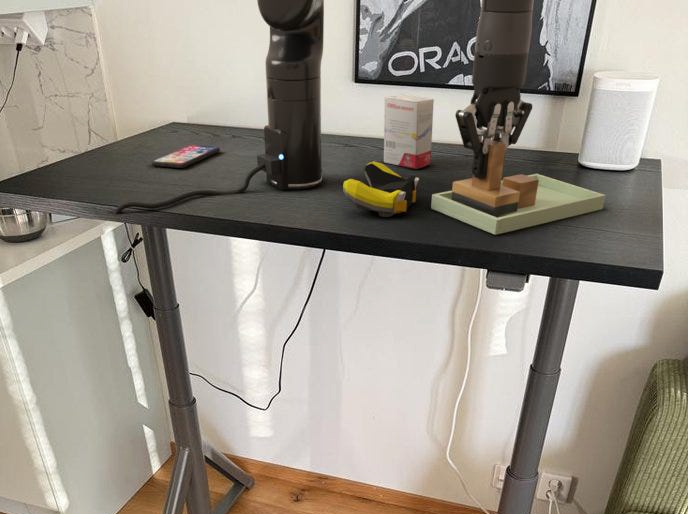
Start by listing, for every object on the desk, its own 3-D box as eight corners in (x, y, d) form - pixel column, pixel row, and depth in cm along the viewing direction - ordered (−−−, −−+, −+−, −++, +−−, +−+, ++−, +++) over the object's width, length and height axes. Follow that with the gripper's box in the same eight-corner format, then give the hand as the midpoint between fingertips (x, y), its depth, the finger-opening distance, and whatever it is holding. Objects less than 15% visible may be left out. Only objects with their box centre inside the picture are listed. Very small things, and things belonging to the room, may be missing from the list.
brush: (493, 217, 112) (501, 151, 106) (451, 201, 118) (456, 138, 113) (517, 211, 114) (526, 146, 108) (474, 196, 120) (481, 133, 115)
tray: (495, 235, 110) (497, 219, 109) (430, 208, 121) (431, 194, 119) (602, 209, 120) (605, 194, 118) (534, 186, 130) (536, 173, 129)
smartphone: (149, 161, 142) (189, 144, 153) (150, 166, 143) (190, 149, 154) (182, 164, 140) (220, 146, 151) (183, 169, 140) (221, 151, 151)
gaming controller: (338, 216, 117) (398, 223, 114) (338, 181, 114) (400, 187, 111) (367, 191, 128) (422, 197, 126) (368, 158, 125) (425, 163, 122)
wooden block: (516, 209, 118) (520, 183, 115) (499, 202, 120) (503, 177, 118) (534, 205, 119) (539, 179, 117) (517, 199, 122) (521, 174, 119)
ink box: (431, 165, 142) (436, 98, 135) (414, 170, 139) (419, 102, 132) (398, 157, 147) (401, 92, 140) (381, 162, 145) (383, 96, 137)
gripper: (519, 42, 108) (503, 165, 119) (446, 49, 102) (436, 177, 113) (556, 47, 103) (536, 175, 114) (482, 55, 97) (468, 189, 108)
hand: (486, 176), depth 113 cm, fingers closed on brush, 2 cm apart
